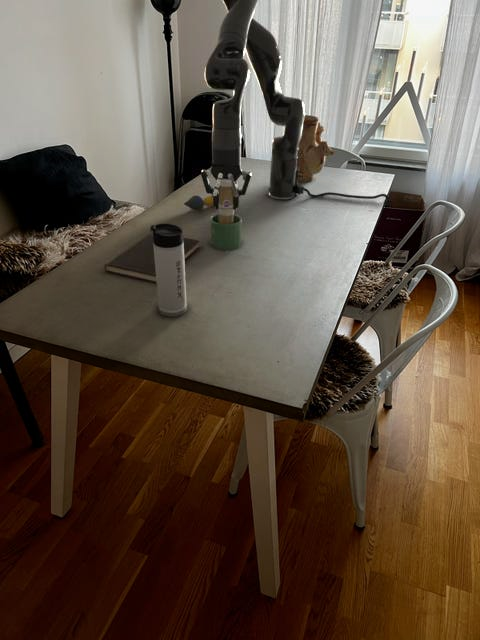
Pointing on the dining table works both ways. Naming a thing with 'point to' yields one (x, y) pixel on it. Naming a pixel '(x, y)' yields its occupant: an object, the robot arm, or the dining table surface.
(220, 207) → the sprinkles bottle
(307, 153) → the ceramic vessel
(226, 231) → the cup
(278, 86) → the robot arm
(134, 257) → the hardcover book
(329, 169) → the dining table surface
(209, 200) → the paintbrush
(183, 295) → the travel mug
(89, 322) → the dining table surface
